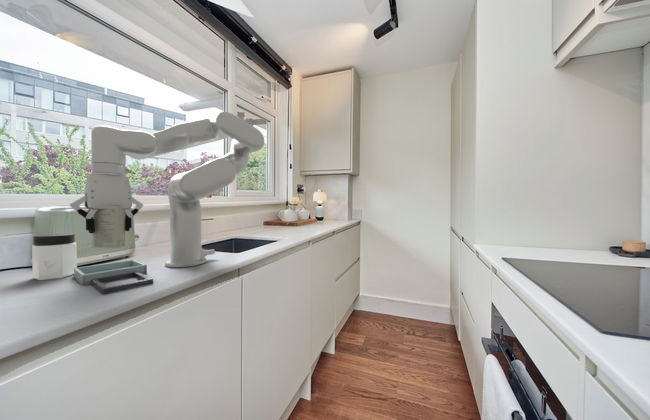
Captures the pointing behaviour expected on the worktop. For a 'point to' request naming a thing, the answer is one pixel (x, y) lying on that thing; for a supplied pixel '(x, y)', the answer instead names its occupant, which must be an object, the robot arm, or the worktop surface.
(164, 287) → the worktop surface
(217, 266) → the worktop surface
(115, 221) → the skincare box
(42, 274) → the jar
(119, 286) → the dark grey rectangular frame
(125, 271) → the tray
